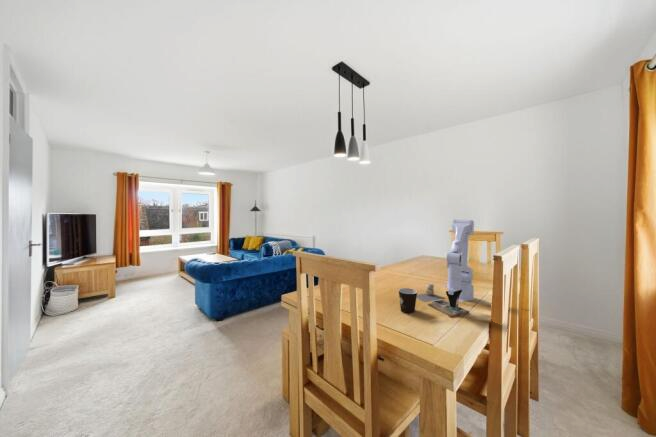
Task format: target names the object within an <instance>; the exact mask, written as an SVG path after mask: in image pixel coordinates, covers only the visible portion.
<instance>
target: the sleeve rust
mask: <svg viewBox="0 0 656 437" xmlns="http://www.w3.org/2000/svg"><path fill="white" fill-rule="evenodd" d="M434 287H435V285H434V283H426V284H425V293H426V295H427V296H434V294H435V292H434V290H435V288H434Z"/></svg>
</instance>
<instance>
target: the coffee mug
mask: <svg viewBox="0 0 656 437" xmlns="http://www.w3.org/2000/svg"><path fill="white" fill-rule="evenodd" d="M417 295H418V291H417V290H416V289H414V288H409V287H401V288H399V289H398V297H399V308H400V312H401V313H403V314H408V315H410V314H413V313H415V310H416V302H417V298H416V297H417Z"/></svg>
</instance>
